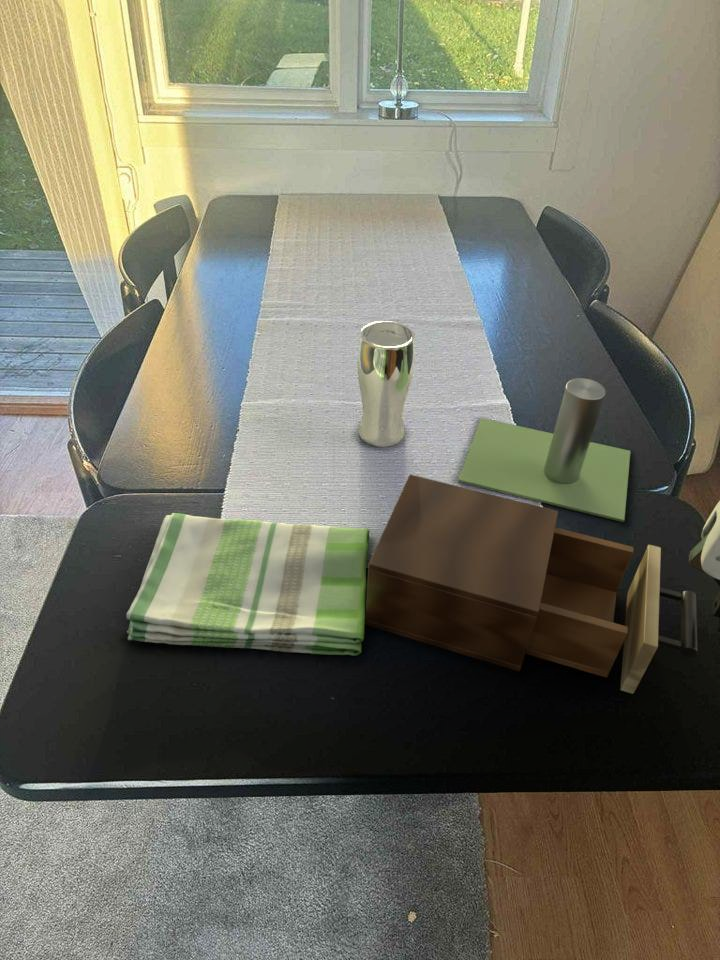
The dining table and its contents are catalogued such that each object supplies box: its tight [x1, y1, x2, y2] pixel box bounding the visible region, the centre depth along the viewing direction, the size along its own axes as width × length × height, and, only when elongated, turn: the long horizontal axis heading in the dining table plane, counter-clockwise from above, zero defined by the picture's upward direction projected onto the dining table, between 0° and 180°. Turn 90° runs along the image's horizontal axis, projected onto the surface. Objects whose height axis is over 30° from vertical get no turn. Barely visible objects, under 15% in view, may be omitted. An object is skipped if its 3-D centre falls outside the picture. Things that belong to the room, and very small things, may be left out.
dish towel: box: [125, 512, 371, 657], centre depth 72 cm, size 17×23×4 cm
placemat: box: [457, 417, 631, 523], centre depth 90 cm, size 20×14×1 cm
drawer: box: [525, 526, 699, 695], centre depth 67 cm, size 19×12×7 cm, turn 71°
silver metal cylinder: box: [544, 377, 606, 484], centre depth 84 cm, size 4×4×13 cm
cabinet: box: [365, 474, 559, 672], centre depth 70 cm, size 16×14×9 cm
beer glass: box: [357, 320, 415, 448], centre depth 89 cm, size 7×7×15 cm
